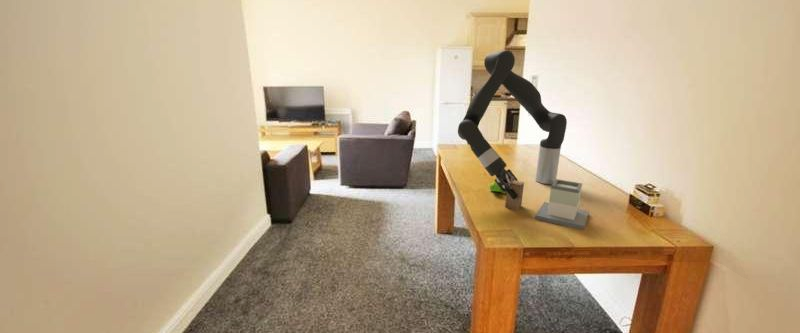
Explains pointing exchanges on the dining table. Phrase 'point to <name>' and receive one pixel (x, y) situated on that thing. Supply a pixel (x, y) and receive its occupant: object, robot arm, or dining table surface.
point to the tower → (564, 205)
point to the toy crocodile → (496, 188)
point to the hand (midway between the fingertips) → (518, 195)
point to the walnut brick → (518, 189)
